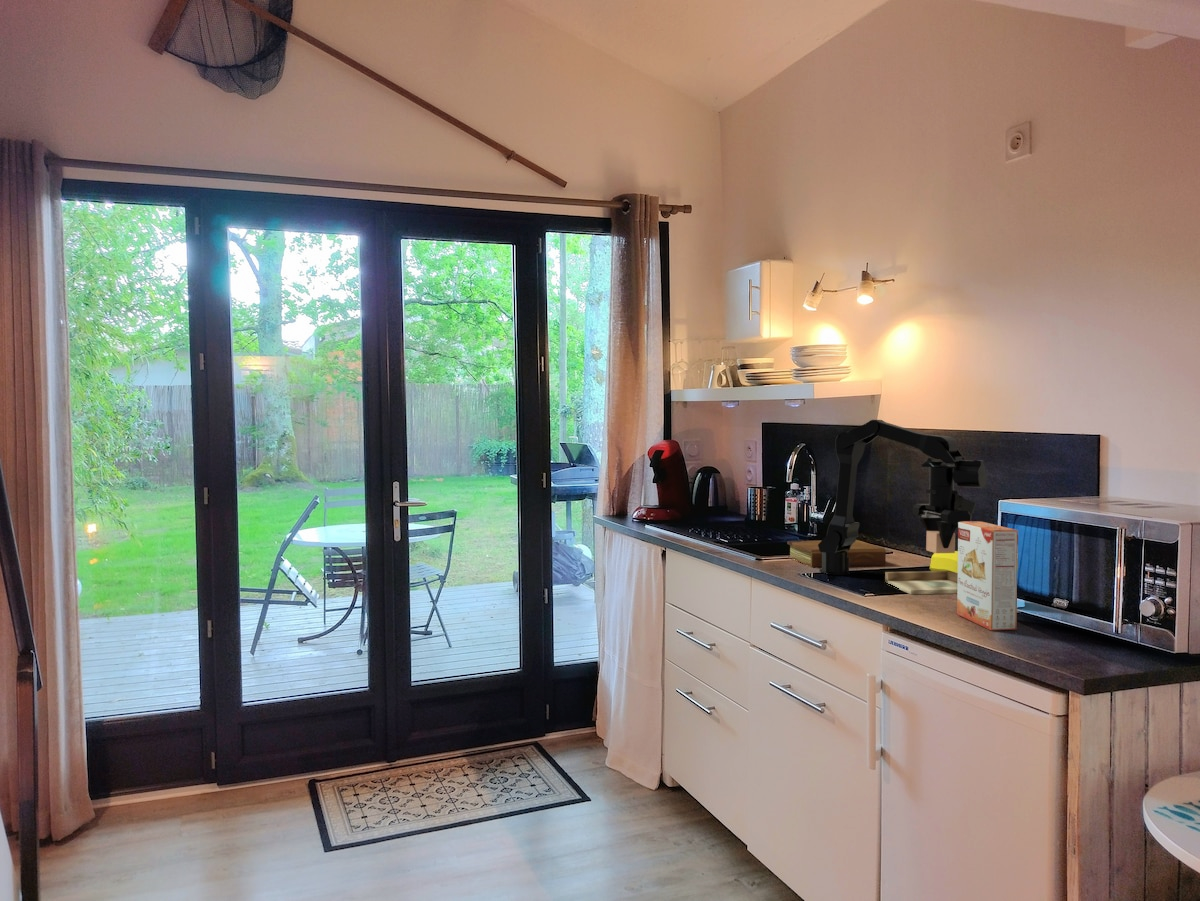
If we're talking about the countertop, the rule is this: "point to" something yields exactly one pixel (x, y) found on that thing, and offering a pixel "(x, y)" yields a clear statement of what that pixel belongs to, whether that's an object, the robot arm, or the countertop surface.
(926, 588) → the arena
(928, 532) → the cube
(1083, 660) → the countertop surface
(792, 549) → the diary
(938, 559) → the faceted yellow capsule
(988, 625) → the cracker box
